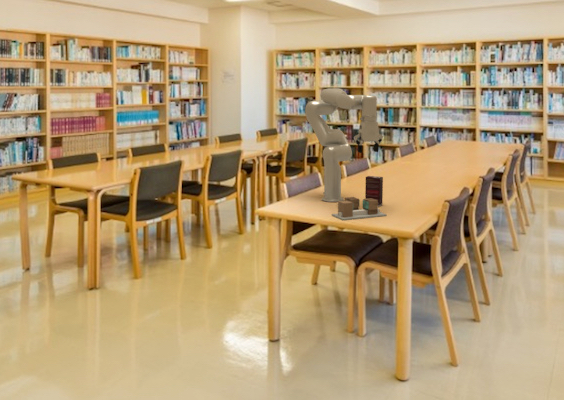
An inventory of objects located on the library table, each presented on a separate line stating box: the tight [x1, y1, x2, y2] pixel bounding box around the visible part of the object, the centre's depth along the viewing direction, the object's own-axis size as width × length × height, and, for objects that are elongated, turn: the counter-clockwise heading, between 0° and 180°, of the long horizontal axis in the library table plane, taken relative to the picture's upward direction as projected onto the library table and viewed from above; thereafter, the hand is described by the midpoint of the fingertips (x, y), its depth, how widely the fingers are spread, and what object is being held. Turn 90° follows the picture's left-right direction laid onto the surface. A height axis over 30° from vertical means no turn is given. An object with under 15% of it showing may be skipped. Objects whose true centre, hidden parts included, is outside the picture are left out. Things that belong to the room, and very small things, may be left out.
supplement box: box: [364, 175, 384, 207], centre depth 320 cm, size 9×5×16 cm, turn 59°
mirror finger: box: [344, 196, 361, 210], centre depth 306 cm, size 6×6×7 cm
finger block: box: [362, 198, 379, 215], centre depth 297 cm, size 6×6×7 cm
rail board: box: [331, 200, 388, 221], centre depth 295 cm, size 12×25×8 cm, turn 113°
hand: (368, 152), depth 308 cm, fingers open, 9 cm apart
